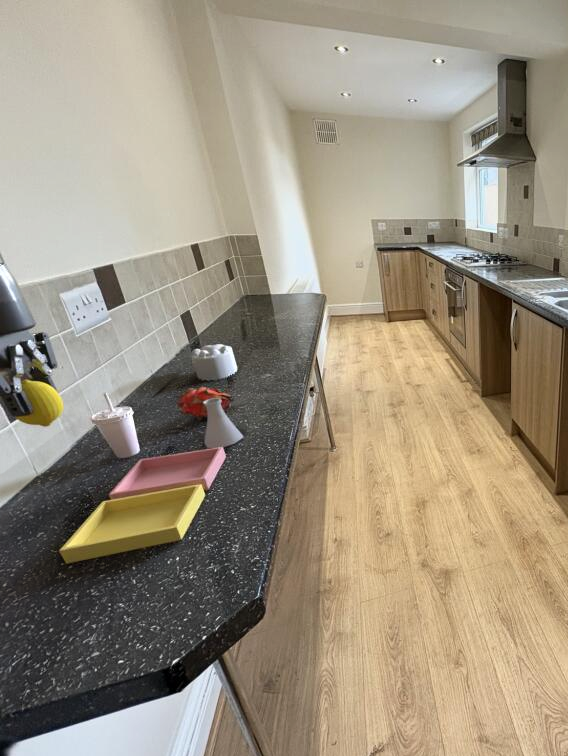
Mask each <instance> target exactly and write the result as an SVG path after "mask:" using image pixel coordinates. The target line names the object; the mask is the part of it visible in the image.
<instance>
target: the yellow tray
mask: <svg viewBox="0 0 568 756" xmlns="http://www.w3.org/2000/svg"><path fill="white" fill-rule="evenodd" d="M205 497H206V493H205V490H203V487H202V484H199V485H193V486H187V487H181V488H176V489H170V490H164V491H159V492H153V493H147V494H142V495H136V496H130V497H124V498H119V499H113V500H111V499H107V500H103V501H102V502H101V503H100V504H99V505H98V506H97V507H96V509H94V510H93V511H92V512H91V514H90V515H89V516H88V517H87V518H86V519H85V521H84V522H83V523H82V524H81V525H80V526H79V527H78V529H77V530H76V531H75V532H74V533H73V534H72V535H71V537H70V538H69V539H68V540H67V541H66V542H65V544H63V546H62V547H61V548H60V549H59V551H58V552H59V553H60V555H61V557H62V558H63V561H64V562H65V564H66V565H67V564H71V563H75V562H81V561H86V560H90V559H96V558H101V557H106V556H111V555H115V554H121V553H125V552H129V551H130V552H131V551H133V550H134V551H135V550H139V549H145V548H148V547H153V546H157V545H158V546H159V545H163V544H168V543H171V542H177V541H182V540H183V538H184V536H185V535H186V533H187V531H188V529H189V527H190V525H191V523H192V521H193V519H194V517H195V515H196V514H197V512H198V510H199V508H200V506H201V504H202V503H203V501H204V499H205Z"/></svg>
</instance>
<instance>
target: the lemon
mask: <svg viewBox="0 0 568 756" xmlns="http://www.w3.org/2000/svg"><path fill="white" fill-rule="evenodd" d="M21 387H22V391H24V392H25V394H26V396H27V398H28V400H29V402H30V404H31V406H32V408H33V410H34V412H33V413H32V414H30V415H28V416H20V417H14V418H15V419H16V420H17V421H19V422H21V423H23V424H26V425H31V426H41V427H43V428H46V427H50V426H51V425H52V424H53V422H54V421H56V420H57V419H59V418H60V417H61V415H62V414H63V413H64V412H63V411H64V402H63V398H62V396H61V395H60V393H59V391H58V390H57V391H58V392H57V391H56V390H55V389H54V388H53V387H51V386H50V385H48V384H46V383H43V382H38V381H30V379H21ZM58 393H59V394H58Z"/></svg>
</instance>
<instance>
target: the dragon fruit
mask: <svg viewBox="0 0 568 756" xmlns="http://www.w3.org/2000/svg"><path fill="white" fill-rule="evenodd" d="M212 398H220V399H221V401H222V402H221V406H222V409H223V411H225V410H227V409H228V408H231V403H232V402H235V398H234V396H232V395H231V394H229V393H224V392H221V390H219V389H218V388H209V387H205V386H200V387H199V388H195V387H194V388H192V387H191V388H188V389H187V391H183V392H182V393H181V395H180V396H179V398H178V402H177V403H176V404H177V407H178V408H180V409H179V412H178V413H181V414H183V415H185V416H186V415H188V416H189V415H192V416H194V417H195V418H196V419H197V420H198V421H201V420H202V419H203V418H208V414H207V408H206V406H205V405H204V404H203V402H204V401H206V400H208V399H212Z"/></svg>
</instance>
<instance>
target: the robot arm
mask: <svg viewBox="0 0 568 756" xmlns="http://www.w3.org/2000/svg"><path fill="white" fill-rule="evenodd" d="M36 325H37V323H36V321H35V318H34V316H33V314H32V312H31V309H30V307H29V306H28V303H27V301H26V298H25V296H24V294H23V292H22V291H21V288H20V286H19V284H18V282H17V280H16V278H15V276H14V275H13V273H12V272H11V270H10V269H9V267H8V265H7V264H6V262H5V259H4V258H3V255H2V252H0V398H1V399H2V402H3V403H4V406H6V409H7V411H8V413H9V414H10V415H11V416H12V417H14V418H15V417H20V416H28V415H30V414H32V413H33V412H34V410H33V408H32V406H31V404H30V402H29V400H28V398H27V396H26V394H25V392H24V391H22V387H21V381H22V379H21V378H22V377H23V376H25V375H26V376H27V377H28V378H30V379H29V381H38V382H43V383H46V384H48V385H50V386H51V387H53V388H54V389H55V390H56V391H57V392H58V394H59V395H60V393H59V391H58V389H57V387H56V385H55V383H54V380H53V378H52V376H53V373H54V372H53V369H58V367H59V364H58V362H57V359H56V354H55V352H54V349H53V346H52V343H51V339H50V337H49V333H47V332H45V331H43V332H30V331H29V330H31V329H33V328H34V327H36ZM6 378H8V381H9V383H8V381H7V380H6Z"/></svg>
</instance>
